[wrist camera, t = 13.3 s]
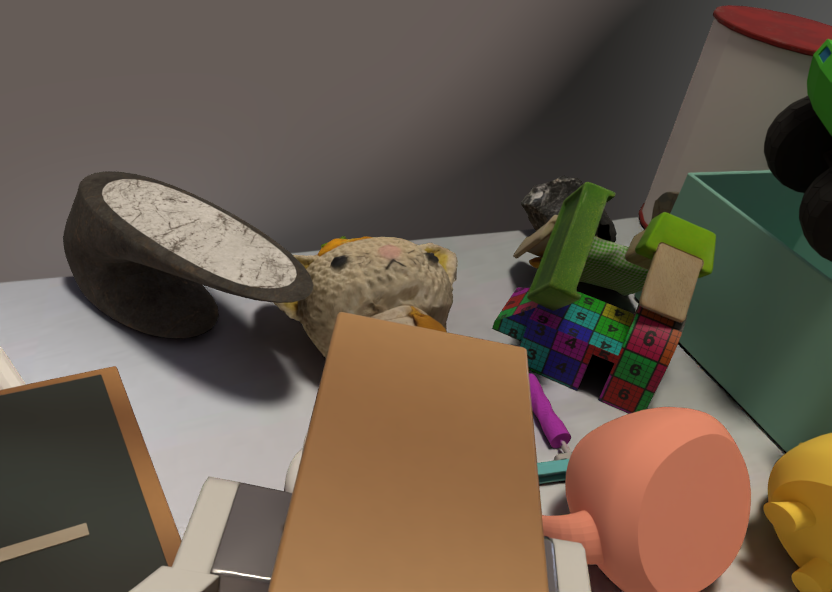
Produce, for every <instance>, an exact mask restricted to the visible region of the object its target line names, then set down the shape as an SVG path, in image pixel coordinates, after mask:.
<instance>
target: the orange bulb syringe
mask: <svg viewBox="0 0 832 592" xmlns="http://www.w3.org/2000/svg"><path fill="white" fill-rule="evenodd" d="M565 485H566V497H567V502H568V506H569V510H570V513H571V514H567V515H560V516H543V515H542V522H543V533H544V536H547V537H549V538H554V539H560V540H566V541H572V542H578V543H581V544H582V545H583V547H584V549H585V552H586V559H587V564H597V565H598V567H599V568H600V569H601V570H602V571H603V573H604V574H605V575H606V576H607V577H608V578H609V579H610V580H611V581H612V582H613V583H614V584H615V585H616V586H618V587H619V588H620V589H621V590H622V591H624V592H699V591H701V590H703V589H704V588H706V587H708V586H709V585H710V584H711V583H713V582H714V581H715V580H716V579H717V578H719V577H720V576H721V575H722V574H723V573H724V572H725V571H726V569H727V568H728V567H729V566H730V565H731V563H732V562H733V560H734V559H735V557H736V555H737V554H738V552H739V550H740V548H741V545H742V543H743V541H744V537H745V534H746V531H747V527H748V522H749V515H750V505H751V490H750V480H749V475H748V471H747V467H746V464H745V462H744V459H743V457H742V455H741V453H740V450H739V449H738V447H737V445H736V443H735V441H734V440H733V438H732V437H731V435H730V434H729V432H728V431H727V430H726V428H725V427H724V426H723V425H722V424H721V423H720V422H719V421H718V420H717V419H715V418H714V417H712V416H711V415H709V414H707V413H704V412H701V411H697V410H693V409H688V408H677V407H660V408H652V409H646V410H641V411H638V412H634V413H631V414H627V415H624V416H622V417H619V418H617V419H614V420H612V421H610V422H607V423H605V424H603V425H601V426H600V427H598V428H596V429H595V430H593V431H591V432H590V433H588V434H587V435H586V436H585V437H584V438H583V439H581V440H580V442H579V443H578V444H577V445H576V447H575V449H574V450H573V452H572V454H571V456H570V459H569V462H568V466H567V471H566V484H565Z"/></svg>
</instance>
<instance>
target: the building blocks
mask: <svg viewBox="0 0 832 592" xmlns="http://www.w3.org/2000/svg"><path fill="white" fill-rule="evenodd" d="M529 290H530V288H518V287H517V289H516V290H515V292H514V293H513V295H512V296H511V298H510V299H509V301H508V302H507V303H506V305H505V306H504V308H503V309H502V311H501V312H500V314H499V315H498V317H497V318H496V320H495V321H494V325H493V329H495V330H498V331H500V332H502V333H505V334H507V335H509V336H512V337H514V338H516V339H519V340H521V341H522V342H521V344H520V347H523V348H525V349H526V350H527V359H528V369H529V370H531V371H534V372H536V373H538V374H540V375H543V376H545V377H547V378H550V379H552V380H554V381H556V382H559V383H561V384H563V385H566V386H568V387H570V388H572V389H575V390H577V389H578V387H579V385H580V383H581V380H582V378H583V375H584V373H585V371H586V368H587V366H588V364H589V361H590V359H591V357H592V354H594V355H596V356H599V357H601V358H603V359H606V360H608V361H610V362H613V363H615V364H614V366H613V368H612V370H611V372H610V375H609V377H608V379H607V381H606V384H605V386H604V388H603V390H602V392H601V395H600V397H599V400H600V401H602V402H604V403H607V404H609V405H611V406H614V407H616V408H618V409H620V410H623V411H625V412H627V413H630V414H631V413H634V412H638V411H641V410H646V409H647V407H648V405H649V403H650V401H651V399H652V397H653V395H654V393H655V391H656V389H657V387H658V385H659V383H660V381H661V379H662V377H663V375H664V373H665V371H666V369H667V367H668V365H669V363H670V361H671V358H672V356H673V354H674V352H675V349H676V347H677V344H678V342H679V340H680V337H681V334H682V332H683V329H684V326H685V323H686V319H687V315H686V319H685V320H684V321H683V322H677V321H674V320H672V319H669V318H667V317H664V316H662V315H660V314H657V313H655V312H652V311H650V310H648V309H645V308H643V307H641V306H640V304H639V305H638V307H637V309H636V312H635V314H633V313H630V312H628V311H625V310H623V309H620V308H618V307H615V306H613V305H610V304H608V303H605V302H603V301H600V300H598V299H595V298H593V297H590V296H588V295H585V294H583V293H580V292H578V291H577V292H578V293H580V294H581V298H580V299H579V300H578V301H576V302H573V303H571V304H569V305H567V306H564V307H562V308H559V309H557V310H555V311H552V310H550V309H548V308H545V307H543V306H541V305H539V304H537V303H535V302H533V301H531V300H529V299H528V298H527V295H528V292H529Z"/></svg>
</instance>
